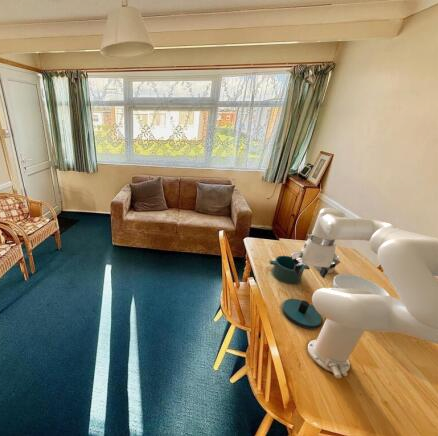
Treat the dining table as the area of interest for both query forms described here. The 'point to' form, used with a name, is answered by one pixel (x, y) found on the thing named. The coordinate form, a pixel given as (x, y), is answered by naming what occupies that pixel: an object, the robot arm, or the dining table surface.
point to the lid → (302, 312)
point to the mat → (299, 323)
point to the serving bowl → (357, 284)
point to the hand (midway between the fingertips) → (308, 273)
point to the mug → (331, 268)
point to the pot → (286, 270)
